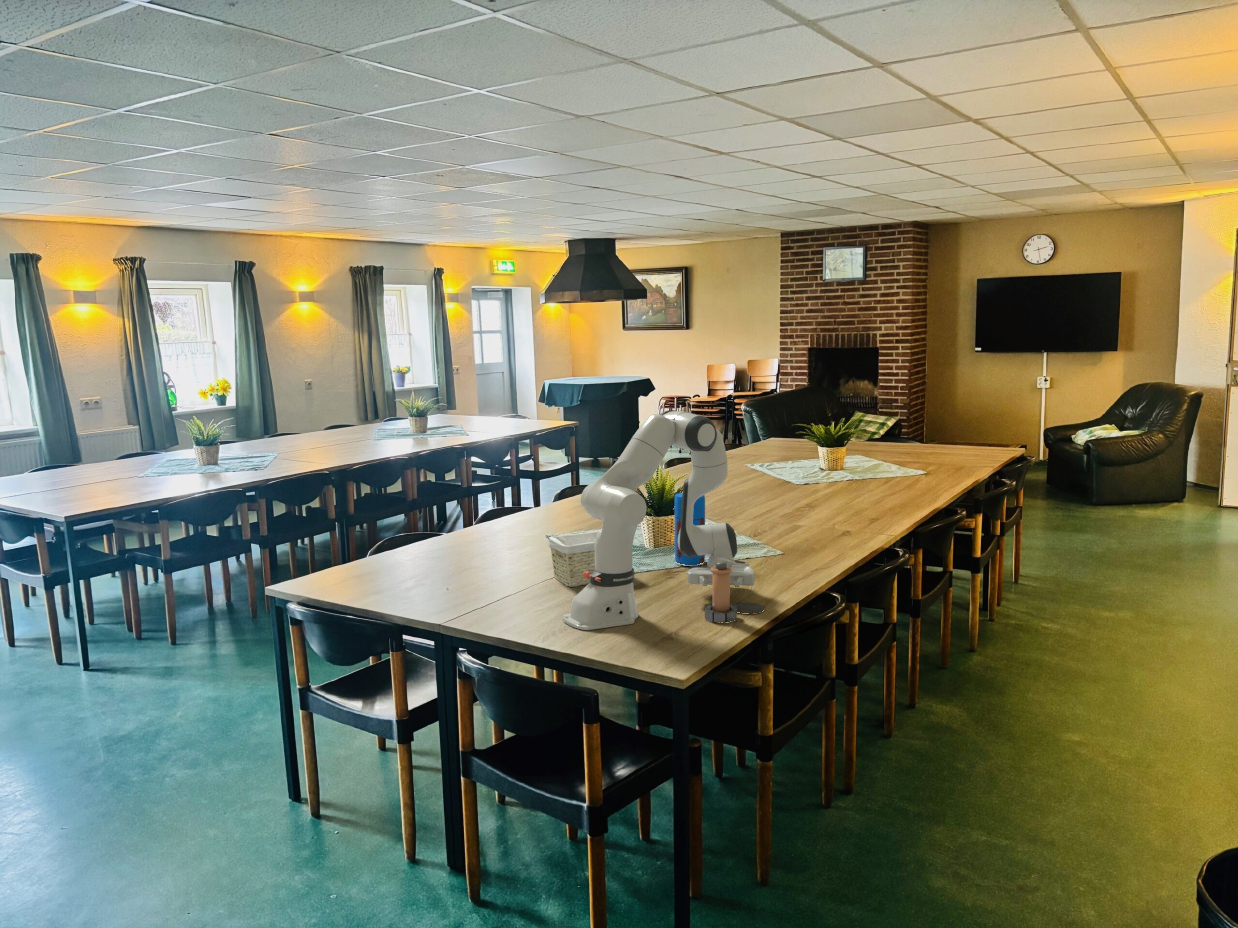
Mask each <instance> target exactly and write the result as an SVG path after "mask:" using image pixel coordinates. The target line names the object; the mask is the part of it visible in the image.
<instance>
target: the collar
mask: <svg viewBox="0 0 1238 928" xmlns="http://www.w3.org/2000/svg"><path fill="white" fill-rule="evenodd" d="M732 605H733V604H730V611H726V612H716V611H713V610H712V604H709V605H706V606H705V609H704V619H706V620H705V621H707V620H709V621H711V622H710V623H712V622H720V623H721V622H723V623H725V622H730V621H734V620H736V619H738V613H737V607H735V606H732ZM709 621H708V622H709ZM736 621H737V620H736ZM720 623H719V624H720ZM725 624H726V623H725Z"/></svg>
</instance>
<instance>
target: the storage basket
mask: <svg viewBox="0 0 1238 928" xmlns="http://www.w3.org/2000/svg"><path fill="white" fill-rule="evenodd" d="M601 532H602V530H600V529H599V530H592V531H587V532H586V531H585V532H578V533H577V532H576V533H569V534H560V535H552V536H549V537H548V544H549V545H548V546H549V548H550V553H551V559H552V567H553V576H554V579H556V581H559V582H560V583H562V584H563V585H565V586H567V587H571V588H572V587H573V588H574V587H579V586H587V585H588V584H589V583H590V579H591V578H590V579H587V578H584V577H583V573H584V572H585V571H588V572H590V573H591V574H592V573H593V570H594V569H595V542H596V541H597V540H598V539H599V538H600V536H601Z"/></svg>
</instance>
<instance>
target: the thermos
mask: <svg viewBox="0 0 1238 928" xmlns="http://www.w3.org/2000/svg"><path fill="white" fill-rule="evenodd" d="M682 495H683V492H680V493H676V494H674V562H675V561H676V562H677V563H680V564H685V565H697V564H700V563H703V562H704V561H705V562H706V559H705V558H706V555H699V556H696V557H691V558H689V557H687V556H685V555H684V554H682V553H681V552H680V550H679V547H678V535H679V531H680V527H681V505H682ZM705 496H706V494H705V495H703V496H701V497H700V498H698V499H697V500H696V501H695V503H694V510H693V525H696V526H698V525H706V498H705ZM705 562H704V563H705Z"/></svg>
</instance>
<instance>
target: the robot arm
mask: <svg viewBox="0 0 1238 928" xmlns="http://www.w3.org/2000/svg"><path fill="white" fill-rule="evenodd" d="M673 446H674V447H677V448H679V449H683V450H689V451H690V457H691V459H690V460H691V472H690V474H689V477H687V478H686V479H685V480H684V482H683V486H682V493H683V495H682V505H681V527H680V531H679V535H678V547H679V550H680V552H681V553H682V554H684V555H685V556H687V557H689V558H691V557H696V556H699V555H705V556H708V559H707V566H706V567H690V569H689V570H688V571H687V573H686V574H687V583H688V584H689V585H702V587H707V586H712V583H713V572H711V567H713V566H716V562H726V563H727V566H728V567H731V568H732V572H731V573H730V586H734V588H739V587H740V586H744V587H745V586H747V587H748V586H754V585H755V582H756V580H755V579H756V578H755V572H754V569H753V568H752V567H751V566H750V562H746V561H741V560H736V559H734V558H735V557H736V556H737V553H738V542H737V535H736V531H735V529H734V528H733V526H731V525H730V524H729V523H728V522H718V523H712V524H711V523H710V524H705V525H698V526H696V525H693V510H694V503H695V501H696V500H697V499H698V498H700V497H701V496H703V495H705V496H706V495H707V494H709V493H711V492H713V491H715V490H716V489H718V488H719V487H721V486H722V485H723V483H725V481H726V479H727V478H728V469H729V468H728V458H727V452H726V450H727V449H726V445H725V443H724V438H723V435H722V433H721V432H720V430H719V429H717V428H716V425H715V423H714V421H712V420H711V419H710V418H708V417H706V416H704V415H698V414H695V413H691V412H689V411H683V410H682V411H681V410H676V409H675V410H674V409H669V410H665V411H662V412H661V413H660V414H657V413H656V414H651V415H650V416H648V417H647V418H646V419H645V421H643V423H642V424H641V425H640V426H639V428H638V429H637V430H636V432H635V433H634V434H633V435H632V437H631V439H630V441H629V442H628V444H627V445H626V447H625V448H624V450H623V451H622V453H621V454H620V456H619V457H618V458H617V460H616V461H615V463H614V464H613V465H611V467H610V468H608V470H607V471H606V472H605V473H604V474H603V475H602V476H600V477H599V478H598V479H597V480H595V481H594V482H592V483H590V484H588V485H587V486H585V488H584V489H583V491H582V492H581V495H580V504H581V507H582V509H583V510H584V511H585V512H586V513H587V514H588V515H590V516H591V517H592V518H595V519H597V520H600V521H602V532H601V536H600V538H599V539H598V540H597V541H596V542H595V569H594V570H593V573H592V574H591V573H590V572H588V571H585V572H584V573H583V577H584V578H587V579H590V578H591V579H590V583H589V584H587V585H585V587H584V588H583V589H581V590H580V591H579V592H578V593H577V594H576V595H575V596H574V597H573V598H572V601H571V604H570V610H569V611H570V612H569V613H565V614H563V615H562V621H563V623H565V624H566V625H567V626H570V627H572V628H575V629H578V630H583V631H590V630H591V631H593V630H599V629H606V628H612V627H620V626H626V625H634V624H635V620H637V618H638V617H639V615H640V614H639V611H638V609H637V608H638V607H637V603H636V597H635V590H634V585H635V570H634V568H633V550H634V549H633V545H634V538H635V534H636V532H637V529H638V526H639V525H640V524H641V523H642V522H643V521H644V519H645V517H646V515H647V503H646V500H645V499H644V497H643V496H641V495H640V494H639V493H638V492H636V490H637V489H638V488H640V487H641V486H642V485H645V484H647V483H648V482H649V481H650V480H651V479H652V477H653V476H654V474H655V473H656V471H657V469H658V468H659V466H660V465H661V463H662V462H663V460H664V459H665V456H666V454H667V453H668V451H669V449H670V447H673Z"/></svg>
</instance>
